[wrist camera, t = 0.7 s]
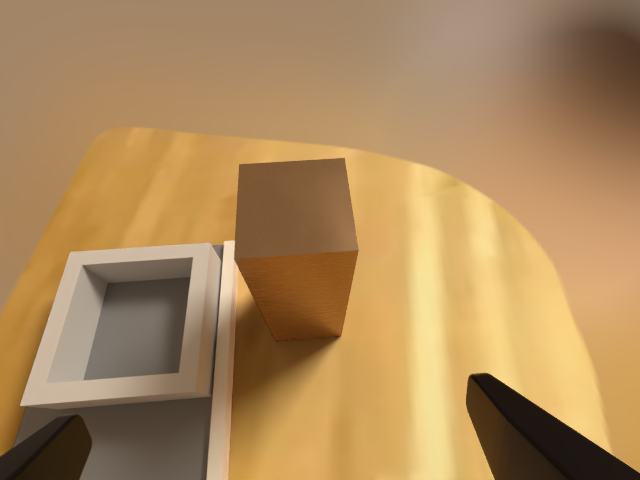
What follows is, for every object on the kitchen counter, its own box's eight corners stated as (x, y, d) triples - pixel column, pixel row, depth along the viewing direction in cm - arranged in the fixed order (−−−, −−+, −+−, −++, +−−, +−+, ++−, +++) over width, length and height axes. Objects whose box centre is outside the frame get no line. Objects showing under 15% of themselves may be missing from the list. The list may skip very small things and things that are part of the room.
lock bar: (341, 335, 23) (358, 250, 12) (275, 341, 23) (233, 259, 12) (334, 275, 25) (344, 158, 14) (274, 280, 25) (239, 164, 14)
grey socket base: (221, 608, 17) (195, 656, 13) (-31, 635, 16) (-128, 691, 13) (239, 250, 26) (226, 222, 23) (83, 260, 26) (46, 234, 23)
